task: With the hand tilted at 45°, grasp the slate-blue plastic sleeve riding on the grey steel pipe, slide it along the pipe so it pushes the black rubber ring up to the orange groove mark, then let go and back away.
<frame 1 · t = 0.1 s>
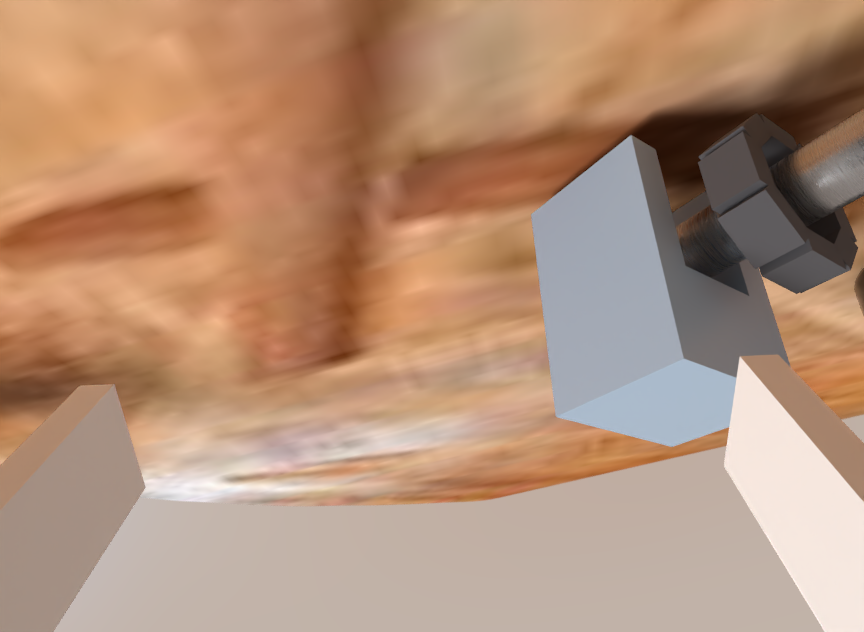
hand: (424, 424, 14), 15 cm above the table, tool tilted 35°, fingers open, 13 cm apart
pipe rig: (778, 80, 26), on the table
sleeve: (652, 298, 28), point 6 cm above the table, slide at 0.0 cm
ring: (778, 202, 24), point 5 cm above the table, slide at 0.0 cm
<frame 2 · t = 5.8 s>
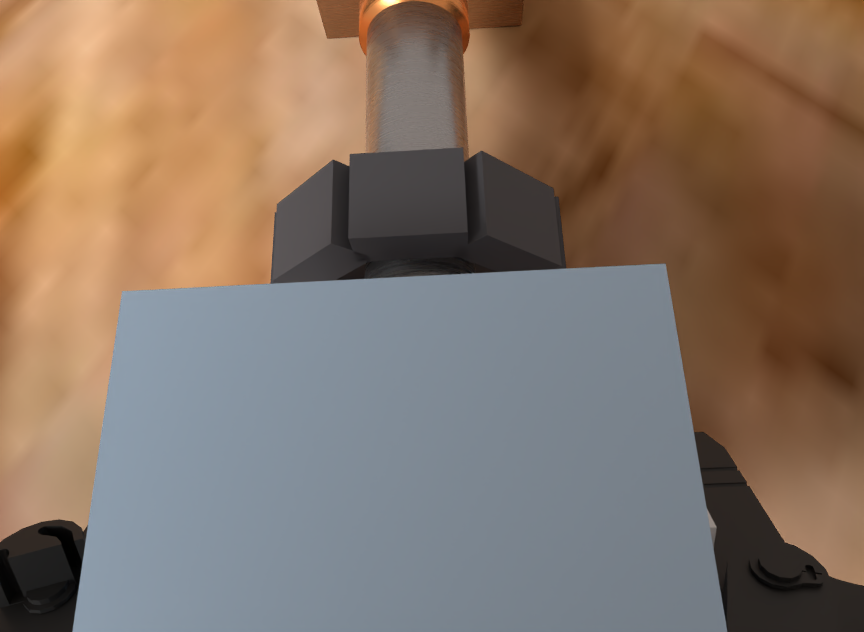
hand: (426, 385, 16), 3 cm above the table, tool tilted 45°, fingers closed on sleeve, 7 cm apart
pipe rig: (431, 287, 20), on the table
sleeve: (422, 538, 12), point 6 cm above the table, slide at 0.0 cm, touching gripper
ring: (420, 263, 15), point 5 cm above the table, slide at 0.0 cm
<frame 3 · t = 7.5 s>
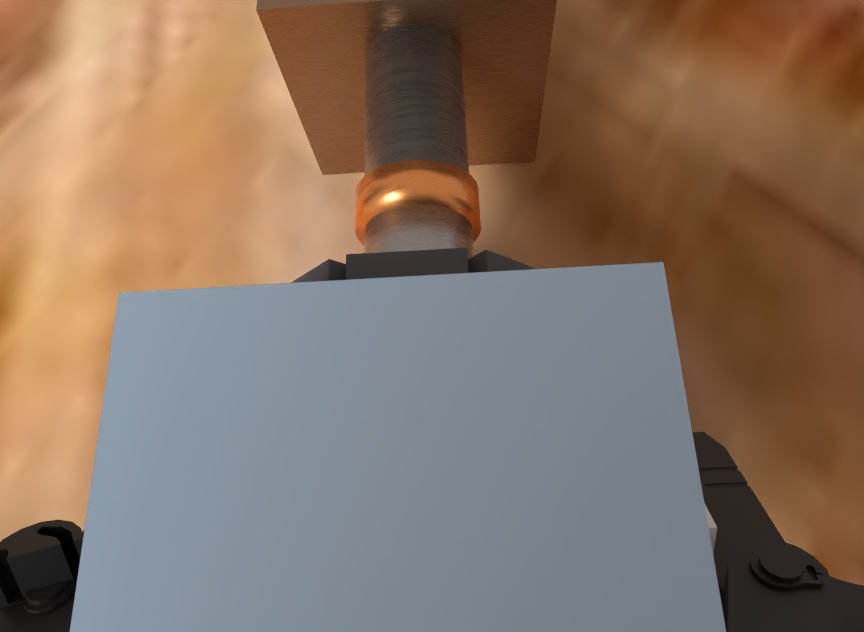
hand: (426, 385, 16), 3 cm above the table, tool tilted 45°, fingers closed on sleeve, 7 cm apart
pipe rig: (438, 478, 18), on the table
sleeve: (422, 539, 12), point 6 cm above the table, slide at 5.7 cm, touching gripper, ring
ring: (421, 351, 14), point 5 cm above the table, slide at 3.6 cm, touching sleeve
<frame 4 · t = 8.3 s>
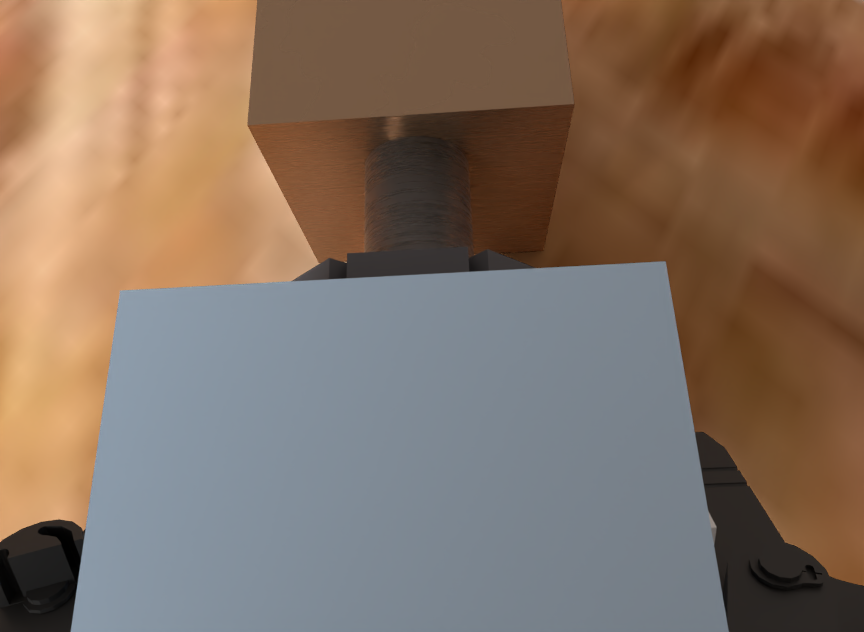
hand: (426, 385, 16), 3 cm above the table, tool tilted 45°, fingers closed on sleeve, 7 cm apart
pipe rig: (441, 606, 17), on the table
sleeve: (422, 538, 12), point 6 cm above the table, slide at 9.0 cm, touching gripper, ring
ring: (421, 350, 14), point 5 cm above the table, slide at 6.9 cm, touching sleeve
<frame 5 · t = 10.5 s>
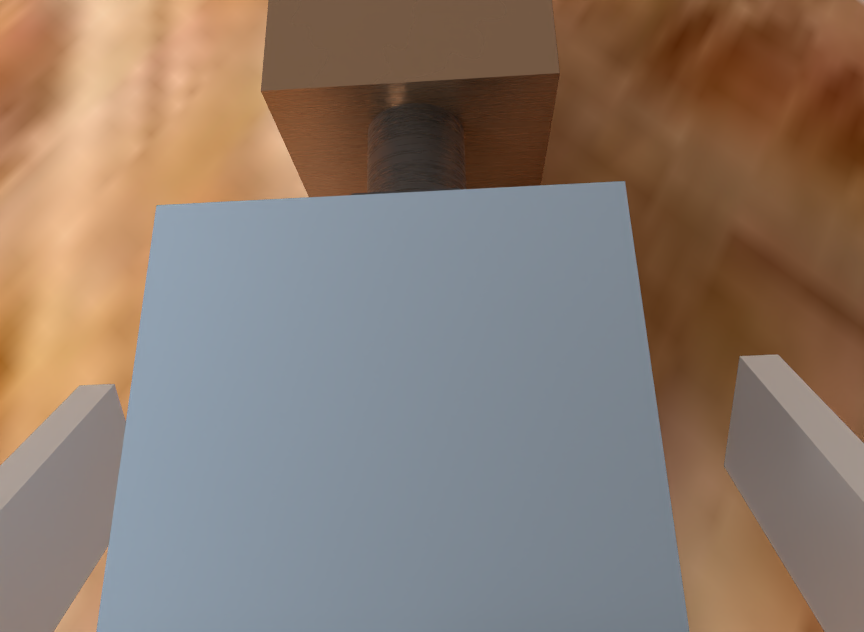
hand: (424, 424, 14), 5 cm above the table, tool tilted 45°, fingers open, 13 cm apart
pipe rig: (435, 543, 19), on the table
sleeve: (417, 450, 14), point 6 cm above the table, slide at 9.1 cm
ring: (418, 292, 16), point 5 cm above the table, slide at 7.0 cm
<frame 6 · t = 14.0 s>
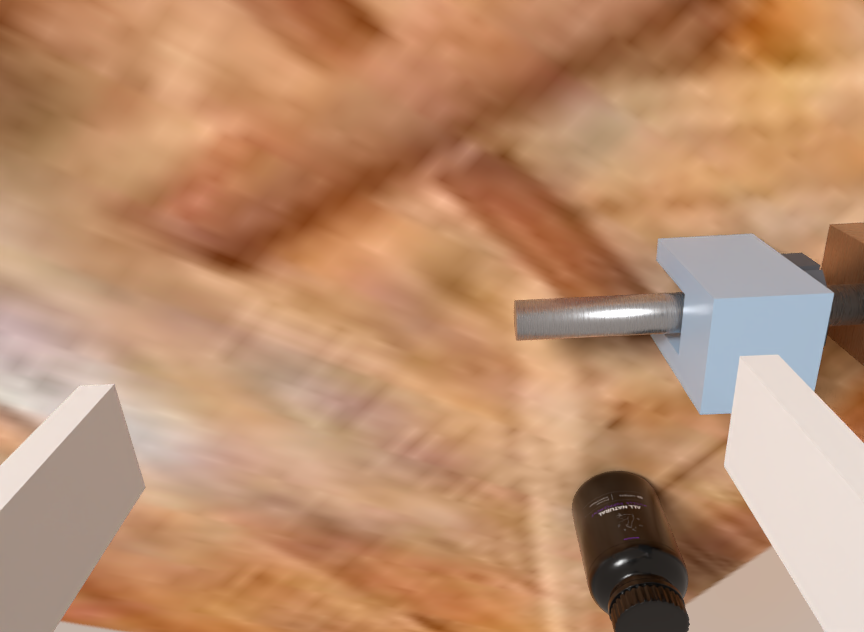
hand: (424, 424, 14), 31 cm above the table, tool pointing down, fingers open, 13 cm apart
pipe rig: (670, 282, 45), on the table
sleeve: (728, 317, 40), point 6 cm above the table, slide at 9.1 cm
supplement bottle: (611, 500, 54), on the table
ring: (786, 307, 41), point 5 cm above the table, slide at 7.0 cm
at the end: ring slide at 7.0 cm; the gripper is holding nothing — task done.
